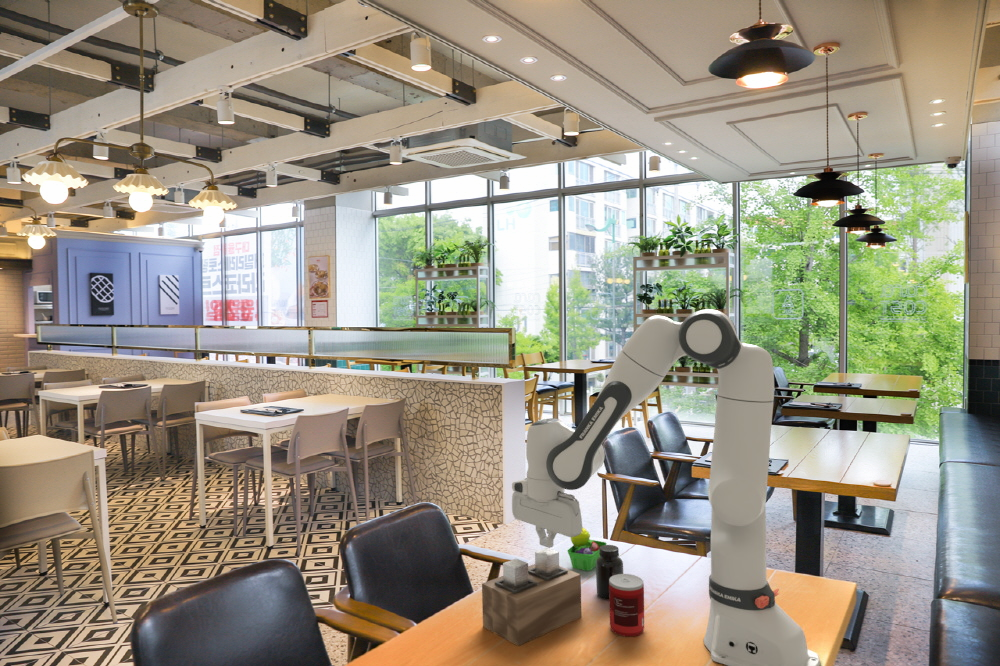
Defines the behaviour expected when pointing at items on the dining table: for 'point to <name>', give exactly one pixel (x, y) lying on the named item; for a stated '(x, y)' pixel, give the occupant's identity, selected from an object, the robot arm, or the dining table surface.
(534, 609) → the socket block
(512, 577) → the peg
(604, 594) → the supplement bottle
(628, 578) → the canned food
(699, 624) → the dining table surface
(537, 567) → the peg
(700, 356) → the robot arm
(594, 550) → the fruit basket
